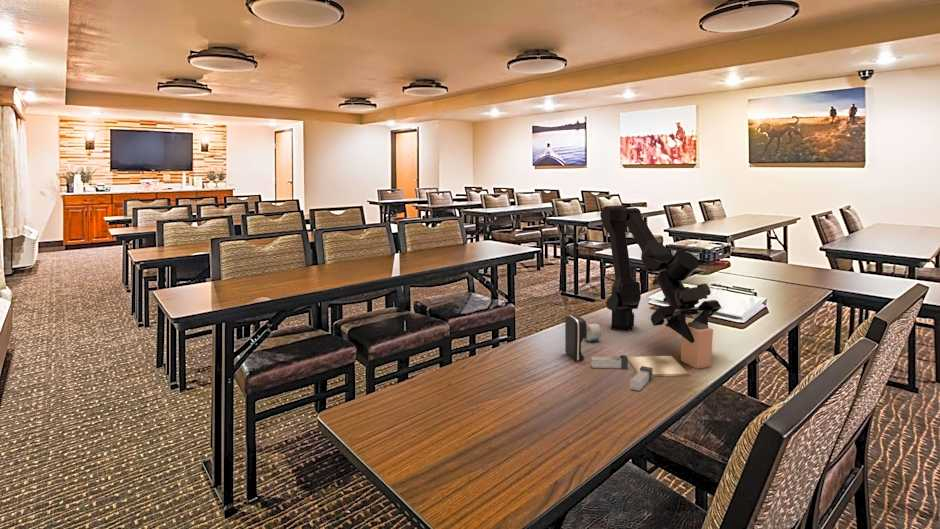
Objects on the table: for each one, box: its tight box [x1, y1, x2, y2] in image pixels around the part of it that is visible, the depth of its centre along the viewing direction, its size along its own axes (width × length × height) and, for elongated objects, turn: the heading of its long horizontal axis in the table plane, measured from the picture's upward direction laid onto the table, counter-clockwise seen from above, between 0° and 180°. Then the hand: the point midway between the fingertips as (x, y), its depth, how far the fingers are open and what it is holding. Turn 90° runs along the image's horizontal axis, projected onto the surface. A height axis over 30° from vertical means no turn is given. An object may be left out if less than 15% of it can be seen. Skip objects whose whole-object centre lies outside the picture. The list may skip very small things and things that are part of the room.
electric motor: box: [585, 323, 602, 343], centre depth 157 cm, size 7×5×5 cm
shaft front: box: [629, 366, 653, 392], centre depth 127 cm, size 9×3×3 cm, turn 144°
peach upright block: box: [680, 321, 714, 370], centre depth 137 cm, size 6×4×11 cm
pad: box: [627, 355, 690, 377], centre depth 136 cm, size 12×12×1 cm
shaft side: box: [590, 354, 629, 370], centre depth 137 cm, size 9×3×3 cm, turn 84°
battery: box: [564, 314, 588, 361], centre depth 144 cm, size 7×4×11 cm, turn 14°
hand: (700, 341), depth 135 cm, fingers closed on peach upright block, 4 cm apart
